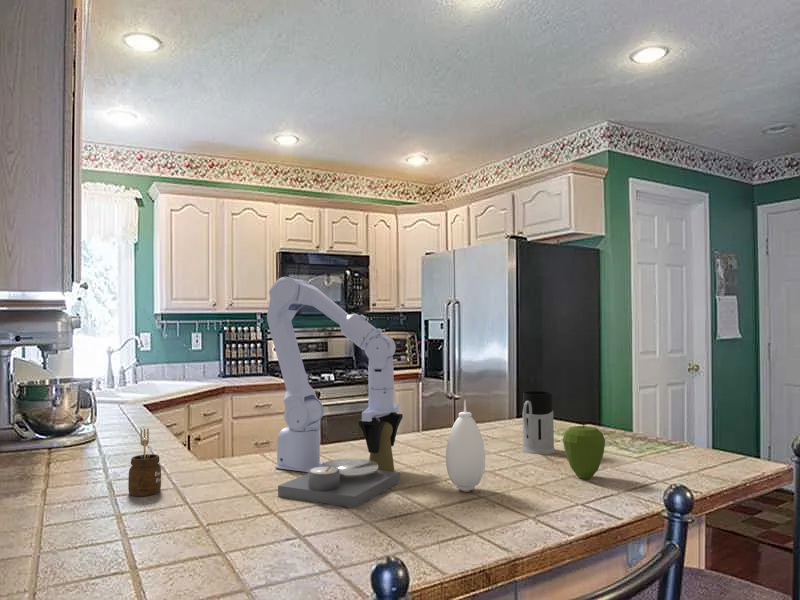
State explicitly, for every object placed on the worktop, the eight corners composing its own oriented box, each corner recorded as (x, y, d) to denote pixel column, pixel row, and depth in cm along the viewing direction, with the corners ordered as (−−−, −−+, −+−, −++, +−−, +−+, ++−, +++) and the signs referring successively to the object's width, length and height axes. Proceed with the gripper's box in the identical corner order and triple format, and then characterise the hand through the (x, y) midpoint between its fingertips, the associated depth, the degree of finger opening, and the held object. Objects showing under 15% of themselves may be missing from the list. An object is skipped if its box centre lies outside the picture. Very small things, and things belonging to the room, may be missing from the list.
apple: (607, 474, 127) (606, 421, 128) (603, 484, 119) (602, 427, 120) (566, 470, 131) (566, 419, 131) (560, 479, 123) (559, 425, 124)
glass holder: (560, 449, 153) (559, 392, 154) (542, 459, 141) (541, 397, 142) (528, 445, 158) (527, 390, 159) (508, 455, 146) (507, 395, 147)
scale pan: (308, 473, 117) (308, 468, 117) (339, 461, 128) (339, 456, 128) (360, 480, 112) (360, 475, 112) (388, 466, 123) (388, 461, 123)
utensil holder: (129, 498, 111) (130, 435, 111) (127, 490, 116) (128, 430, 117) (162, 494, 113) (163, 432, 114) (159, 486, 119) (160, 427, 119)
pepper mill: (391, 475, 127) (391, 425, 127) (364, 474, 128) (364, 424, 129) (397, 469, 133) (396, 420, 133) (371, 467, 134) (371, 419, 134)
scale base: (277, 496, 112) (278, 468, 112) (330, 473, 129) (330, 449, 129) (354, 507, 105) (354, 477, 105) (399, 481, 122) (399, 456, 122)
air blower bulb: (488, 486, 118) (488, 397, 119) (481, 497, 111) (480, 402, 111) (451, 483, 121) (450, 396, 121) (441, 493, 113) (441, 400, 114)
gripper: (382, 392, 123) (382, 457, 122) (410, 385, 136) (410, 444, 135) (353, 391, 126) (353, 454, 125) (383, 384, 139) (384, 442, 138)
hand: (381, 449), depth 131 cm, fingers open, 7 cm apart
